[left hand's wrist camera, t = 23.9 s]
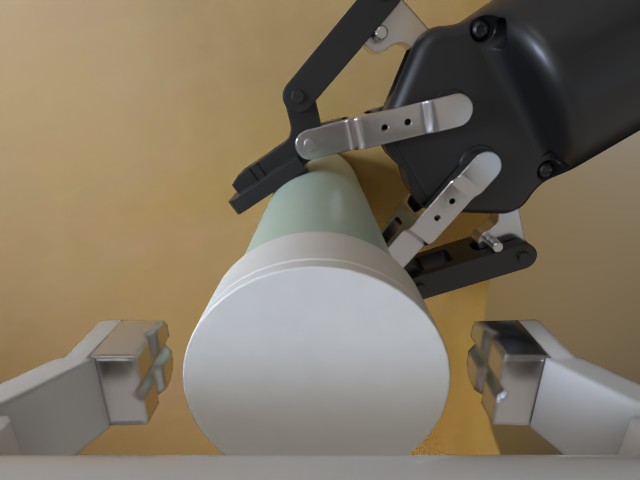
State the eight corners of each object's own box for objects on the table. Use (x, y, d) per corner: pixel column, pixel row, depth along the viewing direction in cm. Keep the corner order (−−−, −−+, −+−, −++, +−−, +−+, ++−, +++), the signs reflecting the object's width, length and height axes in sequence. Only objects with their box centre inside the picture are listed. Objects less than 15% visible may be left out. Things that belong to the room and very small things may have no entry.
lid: (390, 432, 11) (404, 502, 9) (196, 397, 11) (169, 463, 9) (456, 257, 9) (491, 300, 7) (225, 207, 9) (199, 238, 7)
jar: (374, 182, 24) (472, 344, 9) (325, 240, 26) (334, 474, 10) (311, 132, 23) (293, 213, 8) (264, 196, 25) (166, 377, 9)
